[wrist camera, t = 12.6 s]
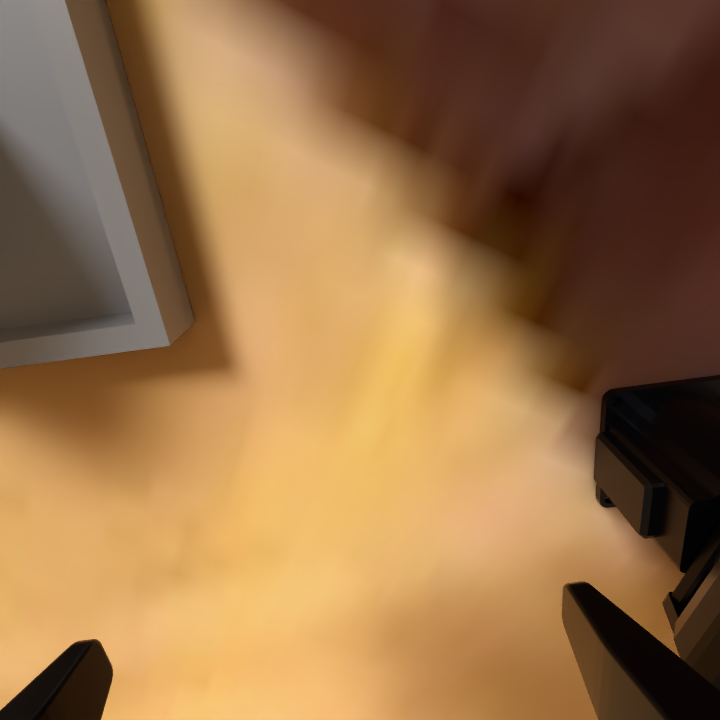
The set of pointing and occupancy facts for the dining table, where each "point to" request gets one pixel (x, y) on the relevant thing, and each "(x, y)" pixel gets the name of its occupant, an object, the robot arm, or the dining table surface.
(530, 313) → the dining table surface
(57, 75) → the tray
